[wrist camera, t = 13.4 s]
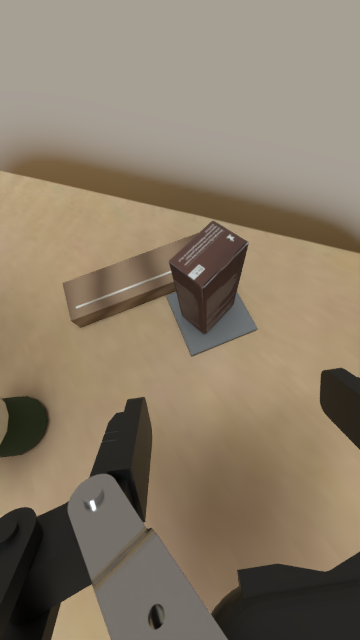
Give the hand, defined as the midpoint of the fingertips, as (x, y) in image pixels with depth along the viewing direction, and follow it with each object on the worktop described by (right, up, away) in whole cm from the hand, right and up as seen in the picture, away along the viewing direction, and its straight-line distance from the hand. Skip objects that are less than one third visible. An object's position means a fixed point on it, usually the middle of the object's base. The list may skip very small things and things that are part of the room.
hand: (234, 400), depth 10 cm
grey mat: (+1, +5, +20) cm, 21 cm away
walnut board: (-7, +9, +23) cm, 26 cm away
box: (+1, +5, +20) cm, 21 cm away
